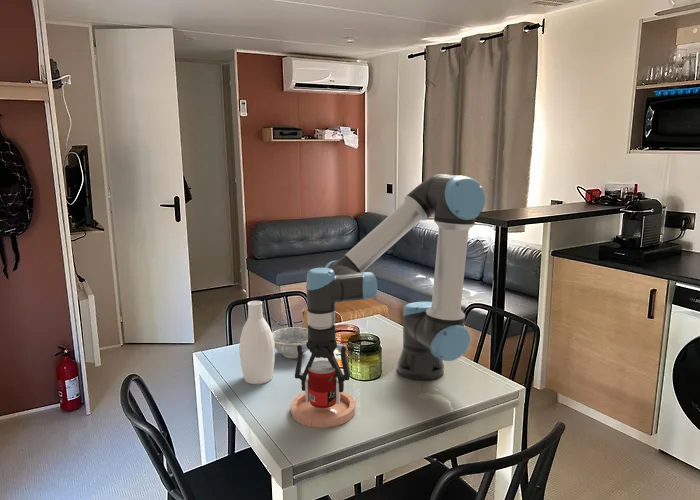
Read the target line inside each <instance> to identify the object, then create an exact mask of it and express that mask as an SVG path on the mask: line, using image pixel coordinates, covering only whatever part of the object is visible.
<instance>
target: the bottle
mask: <svg viewBox="0 0 700 500" xmlns="http://www.w3.org/2000/svg"><path fill="white" fill-rule="evenodd" d="M247 309H248V310H247V320H246V322H245V323H244V325H243V327H242V330H241V334H240V338H239V346H238V348H239V349H238V350H239V359H240V366H241V372H242V374H243V378H244V381H245V382H246V383H248V384H249V385H262V384H266V383H268V382H270V381H271V380H272V379H273V376H274V367H275V350H276V349H275V344H274V339H273V335H272V332H273V331H272V330H271V327H270V325H269V324H268V322H267V321H266V319H265V317H264V315H263V302H262V301H261V300H251V301H248V302H247Z"/></svg>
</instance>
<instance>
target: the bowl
mask: <svg viewBox="0 0 700 500" xmlns="http://www.w3.org/2000/svg"><path fill="white" fill-rule="evenodd" d="M271 332H272V335H273V339H274V344H275V349H274V350H276V352H278V354H281V355H282V356H283V357H284V358H288V359H297V357H298V351H297V346H298V344H299V343H300V342H301V343H307V342H308V327H307V328H306V327H298V326H292V327H291V326H290V327H283V328H279V329H277V330H274V331H271ZM307 351H309V349H308V348H307V347H306V349H305V351H304V353H306V352H307Z"/></svg>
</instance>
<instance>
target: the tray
mask: <svg viewBox="0 0 700 500" xmlns="http://www.w3.org/2000/svg"><path fill="white" fill-rule="evenodd" d="M356 405H357V404H356V400H355V398H354V397H353V396H352V395H351V394H349V393H347V392H346V391H343V392H340V403H339V405H338V404H335V405H334V406H332V407H329V408H317V407H314V406H312V405H311V404H310V401H309V403H306V397H305V391H303V392H302V393H300V394H298V395H297V396H295V397H294V398H293V399H292V401H291V404H290V414H291V417H292V419H293V420H294V421H295V422H297V423H298V424H300V425H303V426H306V427H309V428H310V427H311V428H319V429H320V428H321V429H322V428H325V429H326V428H330V427H337V426H340V425H342V424H345V423H347V422H349V421H350V420H351V419H352V418H353V417H354V416H355V414H356V409H357V407H356Z"/></svg>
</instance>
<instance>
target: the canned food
mask: <svg viewBox="0 0 700 500" xmlns="http://www.w3.org/2000/svg"><path fill="white" fill-rule="evenodd" d="M307 377H308V383H309V401H310V404H311V405H312V406H314V407H317V408H329V407H332V406H334V405H335V404H336V381H337V376H336V374H335V368H332V366H331V364H330V362H329V361H328V360H314V361H313V363H312V365H311V368H310V367H309V369H308V375H307Z"/></svg>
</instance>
